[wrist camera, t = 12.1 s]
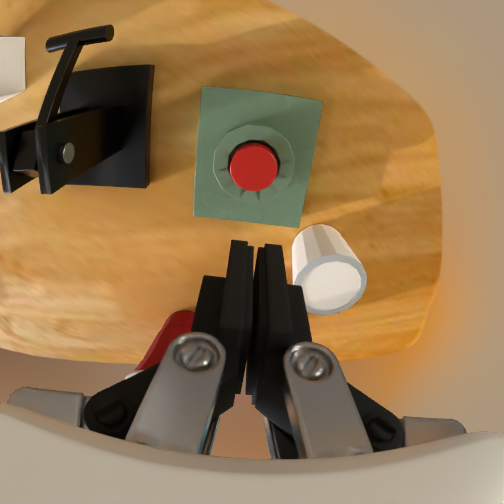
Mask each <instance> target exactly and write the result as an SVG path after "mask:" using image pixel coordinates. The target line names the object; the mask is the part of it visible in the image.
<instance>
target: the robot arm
mask: <svg viewBox="0 0 504 504" xmlns="http://www.w3.org/2000/svg"><path fill="white" fill-rule="evenodd" d="M253 256H254V246H248V241H239V240H231V247H230V254H229V261H228V268H227V275H226V278H224V277H215V276H206V275H204V277H203V281H202V285H201V289H200V293H199V297H198V302H197V306H196V310H195V314H194V319H193V323H192V328H191V332H189V333H185V334H182V335H179V336H178V337H176V338H175V339H174V340H172V342H171V343H170V345H169V346H168V348H167V350H166V352H165V354H164V356H163V358H162V360H161V362H159V363H157V364H155V365H153V366H151V367H149V368H147V369H145V370H143V371H141V372H139V373H137V374H135V375H133V376H131V377H129V378H127V379H125V380H123V381H121V382H119V383H117V384H115V385H113V386H111V387H109V388H106V389H104V390H102V391H100V392H98V393H97V394H95V395H94V396H92V397H89V396H84V394H83V393H77V392H65V391H55V390H47V389H38V388H31V387H21V388H19V389H17V390H15V391H14V392H13V393H12V394H11V395H10V397H9V399H8V402H7V403H2V402H0V504H504V434H503V433H498V432H486V431H484V432H483V431H482V432H472V433H466V430H465V428H464V426H463V425H462V424H461V423H459V422H458V421H457V420H453V419H437V418H420V417H407V416H404V417H403V418H402V419H398V418H397V417H396V416H395V415H394V414H393V413H391V412H390V411H388V410H386V409H385V408H384V407H382V406H381V405H379V404H378V403H376V402H375V401H374V400H372V399H371V398H369V397H368V396H366V395H365V394H363V393H362V392H361V391H359V390H357V389H356V388H355V387H353V386H352V385H350V384H349V383H348V382H346V379H345V377H344V374H343V372H342V370H341V367H340V365H339V362H338V360H337V358H336V356H335V355H334V353H333V352H331V351H330V350H329V349H328V348H326V347H325V346H323V345H321V344H318V343H314V342H312V338H311V332H310V326H309V321H308V316H307V310H306V305H305V300H304V294H303V289H302V286H301V285H291V284H287V279H286V272H285V265H284V258H283V251H282V245H274V244H265V246H264V248H263V247H258V252H257V259H256V265H255V272H254V278H253ZM246 361H247V363H246ZM245 367H246V395H252V404H253V405H255V408H256V409H257V410H258V411H260V412H261V413H262V414H263V415H264V425H265V430H266V435H267V441H268V446H269V451H270V456H271V459H245V458H230V457H219V456H210V453H211V449H212V445H213V441H214V438H215V435H216V431H217V427H218V424H219V420H220V415H221V414H222V413H224V412H225V411H226V410H228V409H230V408H231V407H232V406H233V404H234V398H235V394H240V393H241V388H242V383H243V377H244V372H245Z"/></svg>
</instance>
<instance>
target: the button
mask: <svg viewBox="0 0 504 504" xmlns="http://www.w3.org/2000/svg"><path fill="white" fill-rule="evenodd" d="M277 170H278V168H277V162H276V158H275V156H274V154H273V152H272V151H271V150H270V149H269V148H268V147H267V146H265V145H263V144H260V143H248V144H245V145H243V146H241V147H240V148H239V149H237V151H236V152H235V153H234V155H233V158H232V161H231V165H230V173H231V176H232V179H233V180H234V182H235V183H236V184H237V185H238V186H239V187H241V188H242V189H245V190H248V191H260V190H263V189H265V188H267V187H269V186H270V185H271V184H272V183H273V181H274V180H275V178H276V176H277Z"/></svg>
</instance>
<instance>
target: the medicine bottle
mask: <svg viewBox="0 0 504 504" xmlns="http://www.w3.org/2000/svg"><path fill="white" fill-rule="evenodd" d="M25 90H26V86H25V37H24V36H0V103H1V102H3V101H5V100H7V99H9V98H11V97H14V96H16V95H18V94H21V93H23V92H24V91H25Z"/></svg>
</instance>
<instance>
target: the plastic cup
mask: <svg viewBox="0 0 504 504" xmlns="http://www.w3.org/2000/svg"><path fill="white" fill-rule="evenodd" d="M194 314H195V313H194V312H191V311H179V312H175V313H173V314H172V315H171V316H170V317H169V318H168V319H167V320H166V322H165V324H164V326H163V328H162V329H161V331H160V332H159V333H158V335H157V336H156V338H155V340H154V341H153V343H152V345H151V346H150V348H149V350H148V352H147V353H146V355H145V357H144V358H143V360H142V361H141V362H140V364H139V365H138V367H137V368H136V369H135V370H134V372H132V373H131V374H129V375H128V376H126V378H125V379H127V378H129V377H131V376H133V375H135V374H137V373H139V372H141V371H143V370H145V369H147V368H149V367H151V366H153V365H155V364H157V363H159V362H161V360H162V358H163V356H164V354H165V352H166V350H167V348H168V346H169V345H170V343H171V342H172V340H174V339H175V338H176V337H178V336H179V335H182V334H185V333H189V332H191V328H192V323H193V319H194Z"/></svg>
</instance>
